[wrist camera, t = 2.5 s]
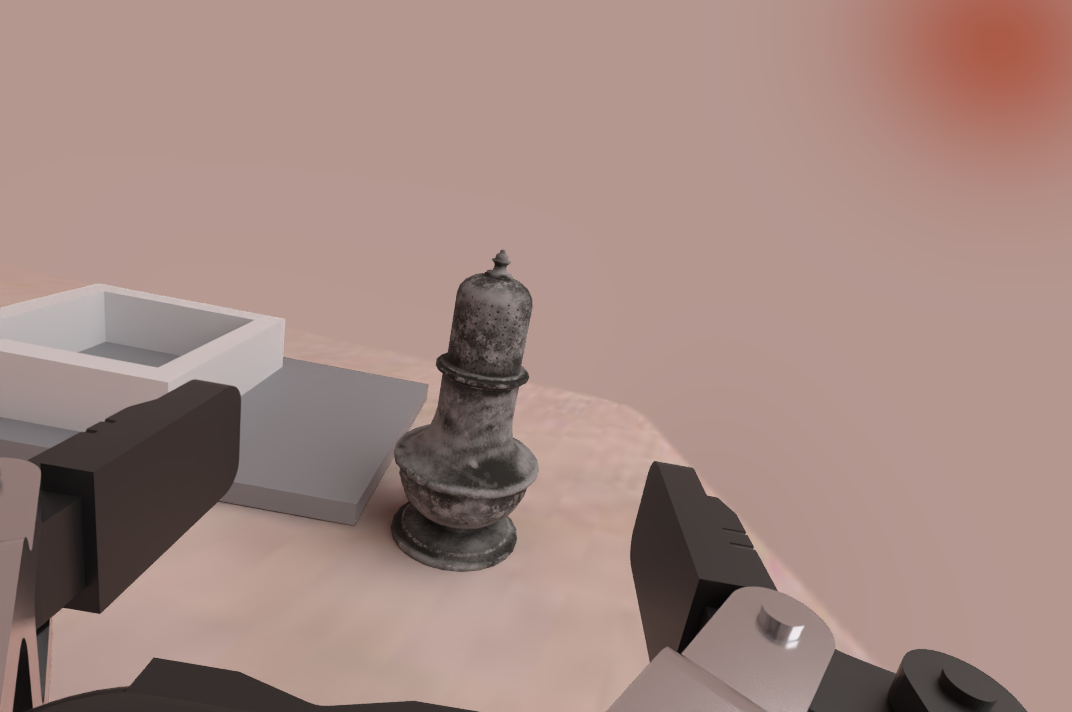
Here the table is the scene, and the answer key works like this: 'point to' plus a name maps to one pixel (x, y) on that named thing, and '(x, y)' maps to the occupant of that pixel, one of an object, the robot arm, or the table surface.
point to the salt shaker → (470, 435)
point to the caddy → (210, 355)
